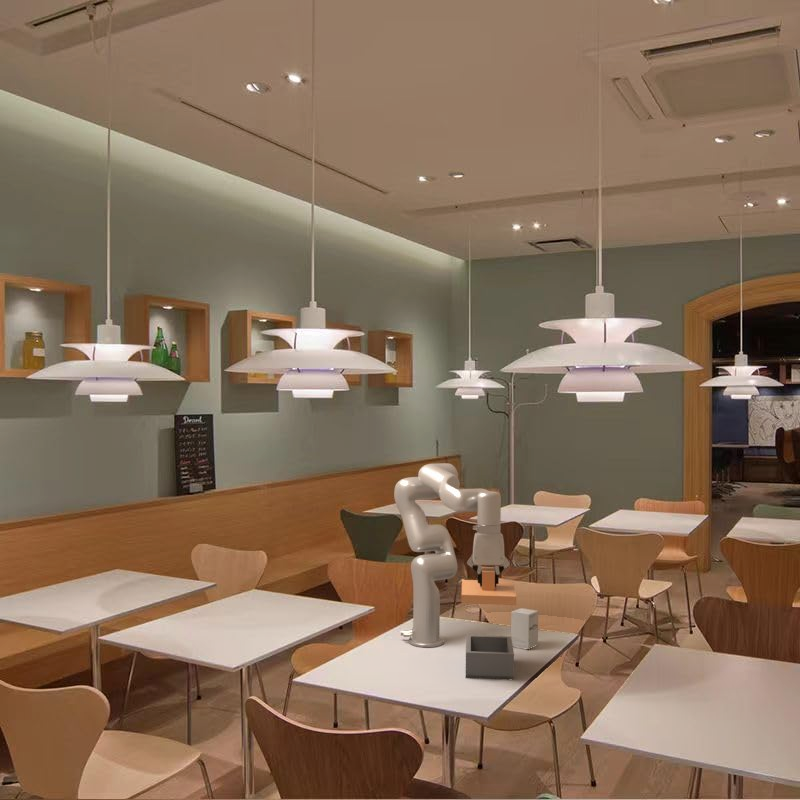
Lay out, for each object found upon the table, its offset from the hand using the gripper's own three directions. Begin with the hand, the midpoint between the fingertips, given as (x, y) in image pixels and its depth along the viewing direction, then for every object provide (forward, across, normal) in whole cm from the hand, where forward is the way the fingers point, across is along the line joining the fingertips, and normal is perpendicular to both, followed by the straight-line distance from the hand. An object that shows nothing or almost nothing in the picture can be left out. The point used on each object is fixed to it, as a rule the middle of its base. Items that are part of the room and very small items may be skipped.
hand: (488, 585), depth 269 cm
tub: (+27, +1, 0) cm, 27 cm away
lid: (+3, 0, 0) cm, 3 cm away
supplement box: (+27, +14, +27) cm, 41 cm away
